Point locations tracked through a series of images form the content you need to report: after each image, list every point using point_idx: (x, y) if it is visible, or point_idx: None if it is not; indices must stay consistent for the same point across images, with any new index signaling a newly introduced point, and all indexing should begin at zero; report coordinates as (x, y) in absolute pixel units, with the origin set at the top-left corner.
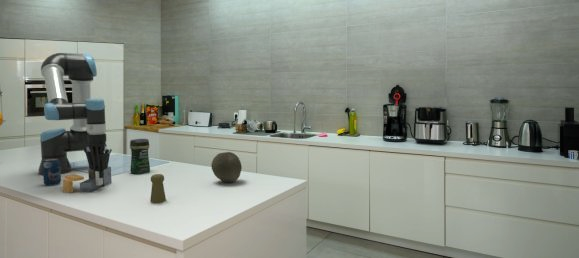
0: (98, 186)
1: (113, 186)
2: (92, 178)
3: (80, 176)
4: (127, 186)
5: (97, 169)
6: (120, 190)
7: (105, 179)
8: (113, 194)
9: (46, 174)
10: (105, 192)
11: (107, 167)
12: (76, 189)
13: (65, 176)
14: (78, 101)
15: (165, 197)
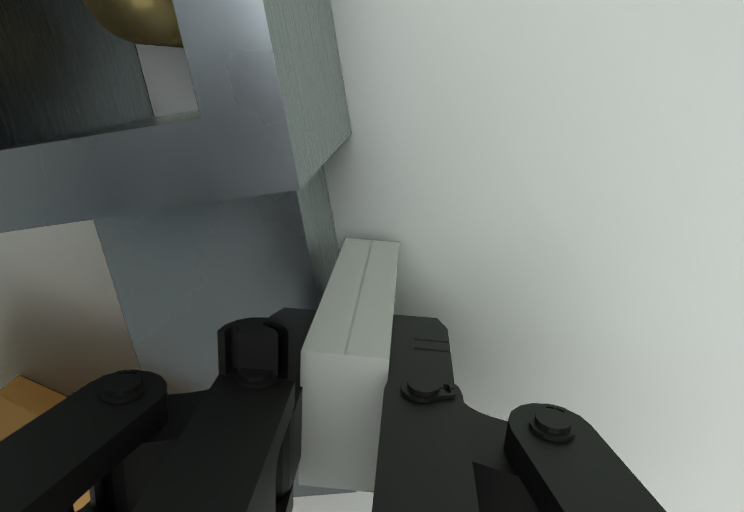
0: (333, 248)
1: (494, 97)
2: (139, 215)
3: (83, 499)
4: (739, 54)
5: (296, 440)
6: (725, 289)
7: (329, 85)
8: (715, 461)
9: None
10: (560, 399)
11: (601, 446)
12: (85, 327)
13: None
14: None
15: None
